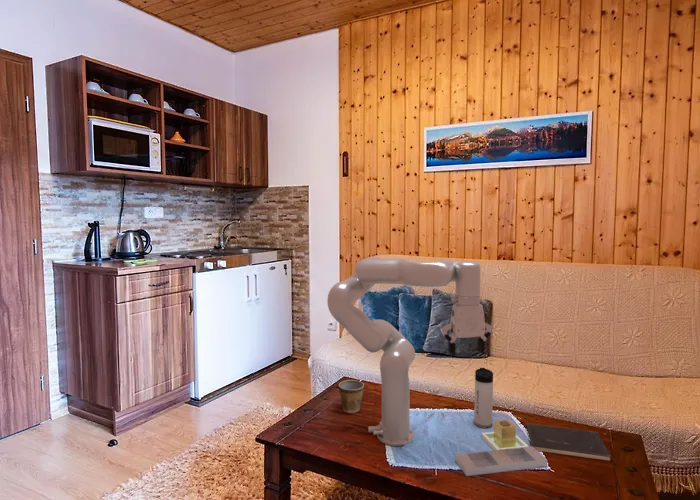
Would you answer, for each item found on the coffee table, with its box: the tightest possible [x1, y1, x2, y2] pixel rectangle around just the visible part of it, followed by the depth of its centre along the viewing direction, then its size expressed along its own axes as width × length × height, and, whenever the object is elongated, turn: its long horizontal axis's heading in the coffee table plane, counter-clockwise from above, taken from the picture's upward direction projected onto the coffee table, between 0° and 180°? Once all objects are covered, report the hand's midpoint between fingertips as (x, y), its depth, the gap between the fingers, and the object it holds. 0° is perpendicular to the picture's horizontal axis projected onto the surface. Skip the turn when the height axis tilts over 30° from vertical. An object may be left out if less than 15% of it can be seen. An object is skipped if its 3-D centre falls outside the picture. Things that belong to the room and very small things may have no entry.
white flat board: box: [454, 445, 548, 477], centre depth 132 cm, size 26×8×2 cm, turn 100°
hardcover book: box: [525, 422, 612, 462], centre depth 144 cm, size 16×23×2 cm
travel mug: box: [473, 367, 494, 428], centre depth 157 cm, size 6×7×20 cm
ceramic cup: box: [338, 379, 365, 414], centre depth 171 cm, size 13×10×10 cm
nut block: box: [493, 419, 517, 448], centre depth 142 cm, size 5×5×7 cm
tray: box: [480, 431, 529, 450], centre depth 143 cm, size 11×11×2 cm
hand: (466, 353), depth 138 cm, fingers open, 9 cm apart
